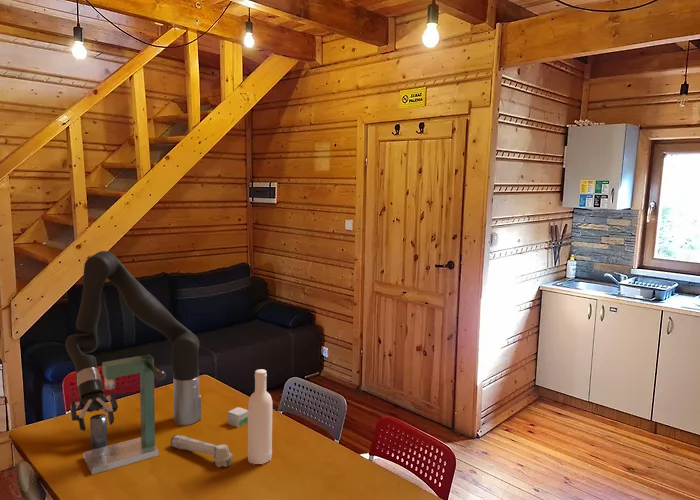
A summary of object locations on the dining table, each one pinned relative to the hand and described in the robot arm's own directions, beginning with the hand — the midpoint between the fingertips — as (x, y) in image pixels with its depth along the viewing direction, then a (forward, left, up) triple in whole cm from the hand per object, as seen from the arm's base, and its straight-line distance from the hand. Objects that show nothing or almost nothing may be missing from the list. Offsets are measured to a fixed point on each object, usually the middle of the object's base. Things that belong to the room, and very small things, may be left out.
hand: (98, 426), depth 174 cm
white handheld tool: (-25, +27, -7) cm, 37 cm away
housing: (0, +1, -6) cm, 6 cm away
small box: (-46, +12, -7) cm, 48 cm away
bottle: (-40, +40, -7) cm, 57 cm away
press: (-4, +17, -6) cm, 19 cm away
